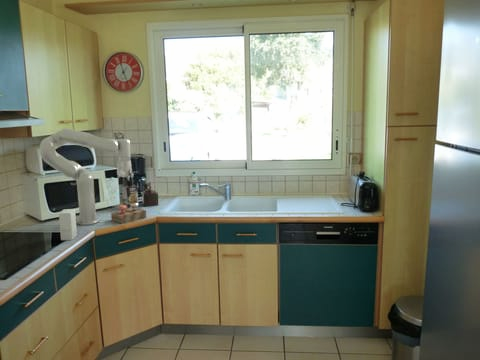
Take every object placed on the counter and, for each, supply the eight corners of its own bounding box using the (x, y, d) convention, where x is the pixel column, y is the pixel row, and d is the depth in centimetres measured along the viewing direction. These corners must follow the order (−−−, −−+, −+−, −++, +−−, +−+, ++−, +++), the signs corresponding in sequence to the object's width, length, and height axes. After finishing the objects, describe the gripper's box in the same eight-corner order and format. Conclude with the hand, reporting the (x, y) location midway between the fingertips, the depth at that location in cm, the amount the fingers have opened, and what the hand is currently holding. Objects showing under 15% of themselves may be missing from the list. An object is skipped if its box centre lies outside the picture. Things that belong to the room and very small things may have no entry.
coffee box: (128, 209, 282) (127, 187, 279) (122, 208, 286) (121, 186, 283) (138, 207, 289) (137, 185, 286) (133, 206, 293) (131, 184, 290)
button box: (121, 223, 248) (121, 216, 247) (111, 220, 256) (111, 212, 255) (146, 217, 261) (146, 210, 260) (136, 214, 269) (135, 207, 268)
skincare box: (66, 235, 225) (63, 208, 223) (78, 235, 226) (75, 208, 223) (60, 240, 217) (58, 212, 214) (73, 240, 218) (70, 212, 215)
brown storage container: (141, 203, 300) (140, 180, 296) (156, 202, 304) (155, 179, 301) (144, 208, 285) (143, 183, 282) (160, 206, 290) (158, 182, 286)
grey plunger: (133, 212, 257) (133, 204, 256) (129, 211, 260) (129, 203, 260) (140, 210, 261) (139, 203, 260) (135, 209, 264) (135, 202, 263)
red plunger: (121, 215, 251) (120, 207, 250) (117, 213, 254) (116, 206, 253) (127, 213, 254) (127, 205, 253) (123, 212, 257) (123, 204, 257)
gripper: (111, 158, 256) (112, 184, 259) (127, 160, 245) (128, 188, 248) (121, 157, 262) (122, 183, 264) (137, 159, 251) (138, 186, 253)
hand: (125, 185), depth 256 cm, fingers open, 9 cm apart
